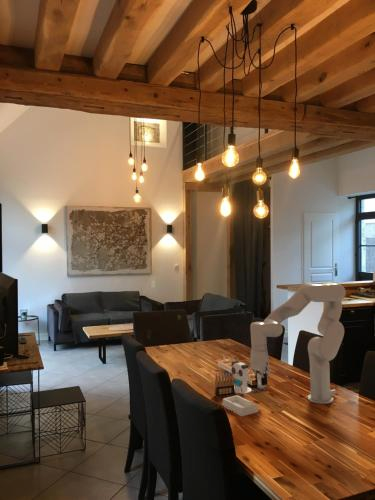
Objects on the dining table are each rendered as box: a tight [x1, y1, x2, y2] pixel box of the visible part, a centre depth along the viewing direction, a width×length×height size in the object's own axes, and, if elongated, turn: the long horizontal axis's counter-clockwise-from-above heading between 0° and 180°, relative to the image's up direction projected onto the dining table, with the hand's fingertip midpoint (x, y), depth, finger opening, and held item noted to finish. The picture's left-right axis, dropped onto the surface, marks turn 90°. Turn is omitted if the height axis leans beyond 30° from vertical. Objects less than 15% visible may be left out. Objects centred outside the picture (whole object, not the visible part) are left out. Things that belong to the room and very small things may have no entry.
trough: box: [221, 394, 259, 417], centre depth 208 cm, size 10×16×4 cm, turn 30°
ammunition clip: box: [214, 371, 236, 397], centre depth 228 cm, size 11×2×12 cm, turn 104°
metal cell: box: [256, 372, 267, 389], centre depth 213 cm, size 4×4×8 cm
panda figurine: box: [230, 360, 253, 395], centre depth 236 cm, size 12×11×15 cm
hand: (261, 383), depth 213 cm, fingers closed on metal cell, 4 cm apart
